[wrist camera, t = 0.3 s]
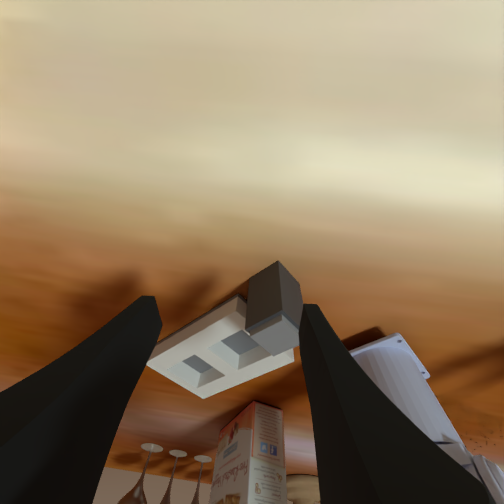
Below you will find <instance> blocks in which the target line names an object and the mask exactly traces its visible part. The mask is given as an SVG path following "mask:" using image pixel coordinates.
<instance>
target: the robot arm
mask: <svg viewBox="0 0 504 504" xmlns="http://www.w3.org/2000/svg"><path fill="white" fill-rule="evenodd" d="M161 328H162V322H161V318H160V315H159V311H158V307H157V304H156V300H155V297H154V296H141V297H140V298H138V299H137V300H136V301H135V302H133V303H132V304H131V305H130V306H128V307H127V308H126V309H125V310H123V311H122V312H121V313H120V314H118V315H117V316H116V317H115V318H113V319H112V320H111V321H110V322H108V323H107V324H106V325H104V326H103V327H102V328H101V329H99V330H98V331H97V332H95V333H94V334H92V335H91V336H90V337H88V338H87V339H86V340H84V341H83V342H82V343H80V344H79V345H77V346H76V347H75V348H73V349H72V350H70V351H69V352H67V353H66V354H64V355H63V356H61V357H60V358H58V359H56V360H55V361H53V362H52V363H50V364H49V365H47V366H45V367H44V368H42V369H40V370H39V371H37V372H35V373H34V374H32V375H30V376H28V377H27V378H25V379H23V380H22V381H20V382H18V383H16V384H15V385H13V386H11V387H9V388H8V389H6V390H4V391H2V392H0V504H92V503H93V499H94V496H95V493H96V490H97V486H98V483H99V480H100V477H101V474H102V471H103V468H104V466H105V463H106V460H107V457H108V454H109V451H110V448H111V445H112V443H113V440H114V437H115V434H116V432H117V429H118V426H119V424H120V421H121V419H122V416H123V413H124V411H125V408H126V406H127V403H128V401H129V399H130V397H131V394H132V392H133V390H134V388H135V386H136V384H137V382H138V380H139V378H140V376H141V374H142V372H143V370H144V368H145V366H146V364H147V362H148V360H149V358H150V356H151V354H152V352H153V350H154V347H155V345H156V343H157V340H158V337H159V334H160V331H161ZM298 334H299V346H300V356H301V361H302V366H303V371H304V376H305V381H306V386H307V392H308V397H309V402H310V407H311V414H312V422H313V431H314V440H315V450H316V460H317V470H318V481H319V492H320V504H504V473H503V472H502V470H501V469H500V468H499V467H498V466H497V465H496V464H495V463H493V462H492V461H490V460H488V459H486V458H485V457H484V456H482V455H475V456H473V455H472V454H471V453H470V452H469V451H468V450H467V449H466V447H465V445H464V444H463V442H462V440H461V439H460V437H459V435H458V434H457V432H456V430H455V429H454V427H453V425H452V424H451V422H450V420H449V419H448V417H447V415H446V414H445V412H444V410H443V409H442V407H441V405H440V404H439V402H438V400H437V399H436V397H435V395H434V393H433V392H432V390H431V388H430V387H429V385H428V383H427V382H426V380H425V379H427V378H429V377H430V374H429V373H428V371H427V370H426V369H425V367H424V366H423V364H422V363H421V362H420V360H419V359H418V358H417V356H416V355H415V353H414V352H413V351H412V349H411V348H410V347H409V345H408V344H407V343H406V341H405V340H404V338H403V337H402V336H401V334H400V333H393V334H391V335H388V336H386V337H383V338H381V339H378V340H376V341H373V342H370V343H368V344H365V345H363V346H360V347H358V348H355V349H353V350H350V351H348V350H347V349H346V347H345V346H344V345H343V343H342V342H341V340H340V339H339V338H338V336H337V335H336V333H335V332H334V330H333V329H332V327H331V326H330V324H329V323H328V321H327V320H326V318H325V316H324V315H323V313H322V311H321V310H320V308H319V306H318V305H317V304H303V310H302V315H301V321H300V327H299V332H298Z"/></svg>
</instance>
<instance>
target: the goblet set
mask: <svg viewBox="0 0 504 504" xmlns="http://www.w3.org/2000/svg"><path fill="white" fill-rule="evenodd" d="M141 447H142V448H143V449H144V450H146V451H149V452H150V453H149V456H148V459H147V462H146V465H145V467H144V470H143V473H142V475H141V477H140V479H139V481H138V482H137V484H136V485H135V487H134V488H133V489H132V490H131V491H129V492H128V493H127V494H126V495H125V496H124V497H123V498H122V499H121V500H120V501H119V502H118V503H117V504H147V501H146V498H145V494H144V491H143V479H144V475H145V471H146V467H147V464H148V461H149V458H150V455H151V453H152V452H161V451H163V448H162V447H161V446H159V445H156V444H152V443H145V444H142V445H141ZM169 453H170V454H171V455H173V456H176V461H175V464H174V468H173V472H172V475H171V479H170V482H169V485H168V488H167V491H166V493H165V495H164V497H163V499H162V501H161V503H160V504H170V491H171V484H172V480H173V476H174V471H175V467H176V463H177V459H178V457H185V456H187V453H186V452H184V451H181V450H171V451H169ZM194 459H195V460H197V461H199V462H202V463H201V469H200V474H199V479H198V484H197V488H196V492H195V496H194V498H193V501H192V503H191V504H199V500H198V496H199V485H200V478H201V472H202V467H203V462H210V461H212V459H211V458H210V457H208V456H203V455H199V456H195V457H194Z"/></svg>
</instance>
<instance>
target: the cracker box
mask: <svg viewBox="0 0 504 504" xmlns="http://www.w3.org/2000/svg"><path fill="white" fill-rule="evenodd" d="M209 504H287V487H286V465H285V444H284V424H283V410H281V409H277V408H274V407H271V406H268V405H265V404H262V403H259V402H256V401H253V402H252V403H251V404H249V405H248V406H247V407H246V408H245V409H244V410H243V411H242V412H241V413H240V414H239V415H237V416H236V417H235V418H234V419H233V420H232V421H231V422H230V423H229V424H228V425H227V426H225V427H224V428H223V429H222V430H221V431H220V434H219V441H218V447H217V454H216V460H215V466H214V473H213V479H212V486H211V492H210V499H209Z"/></svg>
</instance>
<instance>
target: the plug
mask: <svg viewBox="0 0 504 504" xmlns="http://www.w3.org/2000/svg"><path fill="white" fill-rule="evenodd" d="M302 310H303V300H302V295H301V290H300V285H299V283H298V282H297V281H296V279H295V278H294V277H293V276H292V275H291V274H290V273H289V272H288V271H287V269H286V268H285V267H284V266H283V265H282V264H281V263H280V262H279V261H276V262H275V263H273V264H272V265H270V266H268V267H267V268H265V269H264V270H262V271H260V272H259V273H257V274H256V275H254V276H252V277H251V278H249V289H248V299H247V310H246V321H245V330H246V331H247V332H248V333H249V334H250V337H251V338H252V339H253V340H254V341H255V342H257V343H258V344H259V345H260V346H261V347H263V348H264V349H265V350H266V351H268V352H269V353H270V354H271V355H272V356H276V355H278V354H280V353H283V352H285V351H287V350H289V349H292V348H294V347H296V346H298V345H299V334H298V332H299V327H300V321H301V315H302Z"/></svg>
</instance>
